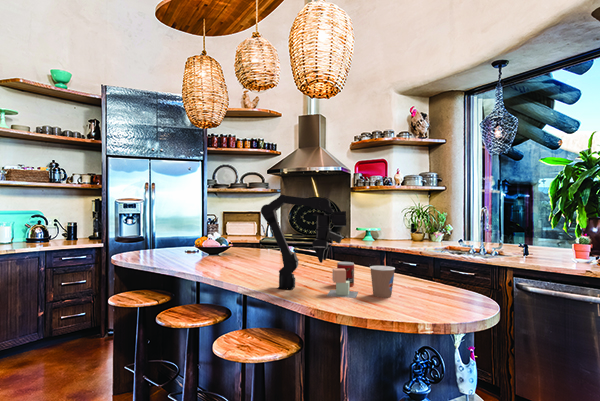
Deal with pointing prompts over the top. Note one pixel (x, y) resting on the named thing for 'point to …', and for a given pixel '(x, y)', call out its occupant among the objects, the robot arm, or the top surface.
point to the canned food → (347, 271)
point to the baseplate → (351, 295)
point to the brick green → (342, 288)
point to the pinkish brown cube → (339, 275)
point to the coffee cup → (382, 280)
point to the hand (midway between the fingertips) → (322, 261)
